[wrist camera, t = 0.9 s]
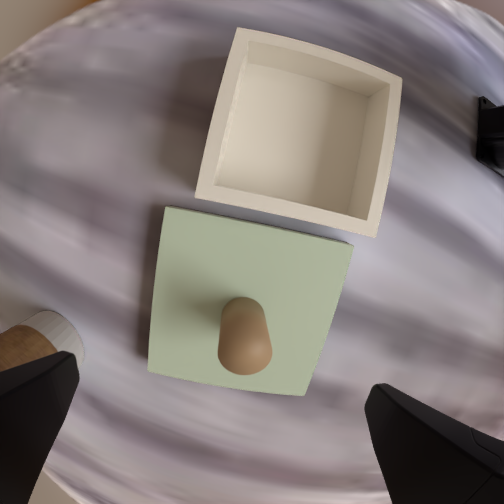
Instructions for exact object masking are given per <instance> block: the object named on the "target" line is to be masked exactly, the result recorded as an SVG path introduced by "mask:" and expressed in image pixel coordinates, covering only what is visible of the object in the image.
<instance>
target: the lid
mask: <svg viewBox="0 0 504 504" xmlns="http://www.w3.org/2000/svg"><path fill="white" fill-rule="evenodd" d="M353 248H354V246H353V245H351V244H349V243H345V242H341V241H337V240H332V239H328V238H324V237H319V236H315V235H310V234H306V233H301V232H297V231H292V230H288V229H283V228H278V227H274V226H269V225H264V224H259V223H255V222H250V221H245V220H240V219H235V218H230V217H225V216H220V215H215V214H210V213H205V212H200V211H194V210H189V209H184V208H178V207H173V206H167V207H165V212H164V218H163V224H162V231H161V237H160V244H159V251H158V258H157V266H156V274H155V282H154V291H153V301H152V311H151V323H150V336H149V352H148V372H152V373H157V374H161V375H165V376H169V377H174V378H179V379H183V380H188V381H193V382H198V383H204V384H209V385H215V386H221V387H227V388H234V389H241V390H248V391H256V392H265V393H275V394H285V395H298V396H304V395H305V393H306V390H307V388H308V385H309V383H310V380H311V378H312V375H313V372H314V370H315V367H316V364H317V362H318V359H319V356H320V354H321V351H322V348H323V345H324V342H325V340H326V337H327V334H328V331H329V328H330V325H331V322H332V319H333V316H334V313H335V310H336V307H337V304H338V300H339V297H340V294H341V291H342V287H343V284H344V281H345V277H346V274H347V270H348V267H349V263H350V259H351V256H352V252H353Z"/></svg>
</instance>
